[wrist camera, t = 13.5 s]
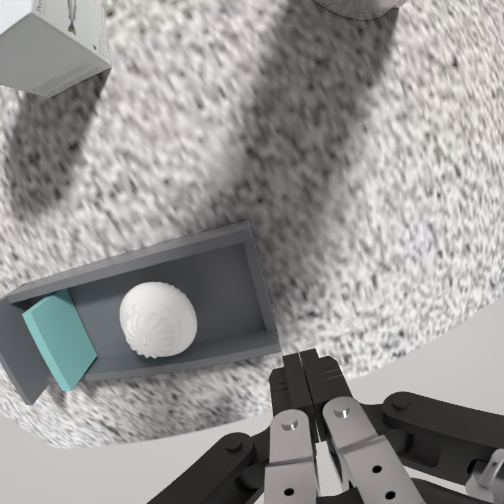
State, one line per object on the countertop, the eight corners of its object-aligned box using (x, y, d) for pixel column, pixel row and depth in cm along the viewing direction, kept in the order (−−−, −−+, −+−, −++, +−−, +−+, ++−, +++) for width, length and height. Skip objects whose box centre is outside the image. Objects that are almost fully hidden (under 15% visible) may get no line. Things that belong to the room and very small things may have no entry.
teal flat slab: (66, 286, 25) (30, 312, 19) (97, 355, 27) (71, 390, 21) (57, 288, 25) (21, 314, 19) (88, 356, 27) (62, 391, 21)
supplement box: (114, 68, 21) (30, 15, 9) (48, 100, 22) (-47, 78, 9) (107, 8, 19) (41, -56, 7) (45, 40, 20) (-34, 2, 8)
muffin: (174, 345, 27) (154, 394, 20) (122, 301, 26) (87, 340, 19) (218, 302, 26) (208, 346, 19) (162, 252, 24) (133, 282, 18)
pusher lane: (249, 219, 25) (248, 241, 17) (277, 327, 27) (286, 382, 20) (23, 284, 26) (-24, 313, 18) (60, 363, 29) (26, 405, 21)
